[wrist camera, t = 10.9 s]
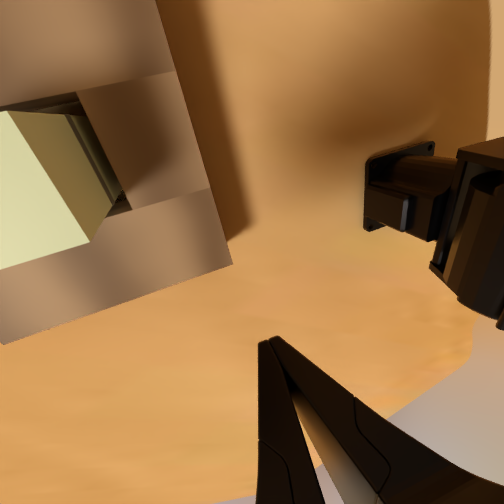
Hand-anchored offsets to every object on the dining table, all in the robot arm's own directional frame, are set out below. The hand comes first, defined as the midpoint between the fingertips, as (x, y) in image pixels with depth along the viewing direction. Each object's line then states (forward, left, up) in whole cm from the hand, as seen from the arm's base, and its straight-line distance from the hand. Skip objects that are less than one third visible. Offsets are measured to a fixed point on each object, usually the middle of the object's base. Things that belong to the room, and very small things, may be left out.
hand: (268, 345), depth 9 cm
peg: (+7, -7, -11) cm, 15 cm away
